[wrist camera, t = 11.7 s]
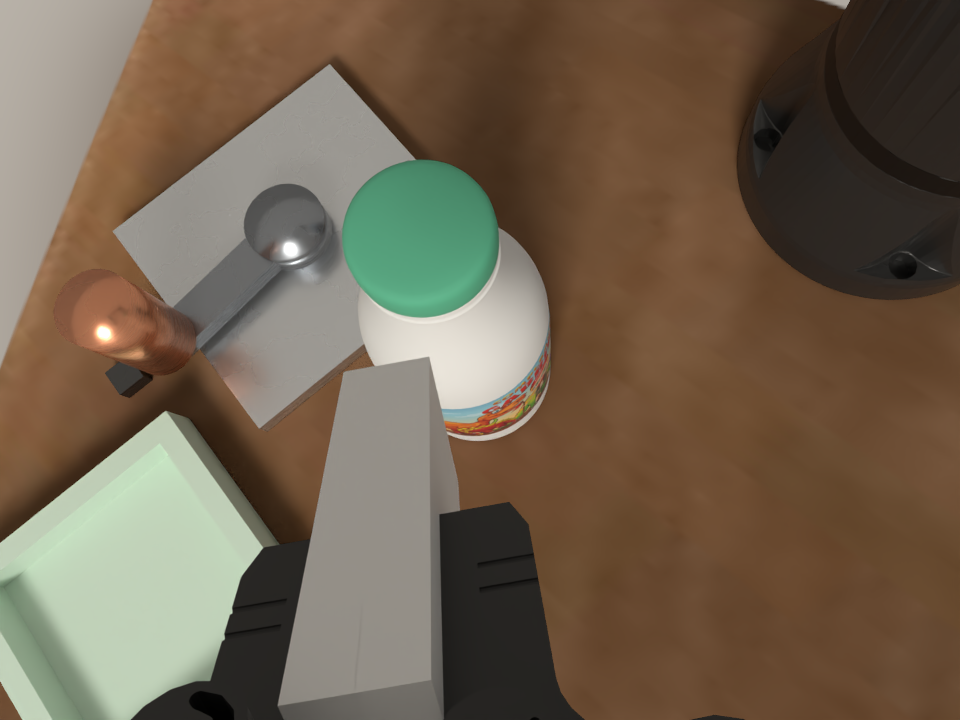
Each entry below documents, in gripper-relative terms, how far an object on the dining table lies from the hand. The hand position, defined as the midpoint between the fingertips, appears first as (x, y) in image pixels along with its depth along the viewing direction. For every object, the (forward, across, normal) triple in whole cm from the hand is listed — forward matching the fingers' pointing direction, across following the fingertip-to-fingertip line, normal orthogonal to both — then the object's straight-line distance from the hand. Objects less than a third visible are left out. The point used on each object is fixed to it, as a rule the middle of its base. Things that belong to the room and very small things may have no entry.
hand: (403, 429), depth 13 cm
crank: (+28, -12, -7) cm, 31 cm away
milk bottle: (+25, +1, -13) cm, 28 cm away
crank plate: (+30, -10, -7) cm, 32 cm away
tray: (+19, -18, -20) cm, 33 cm away
